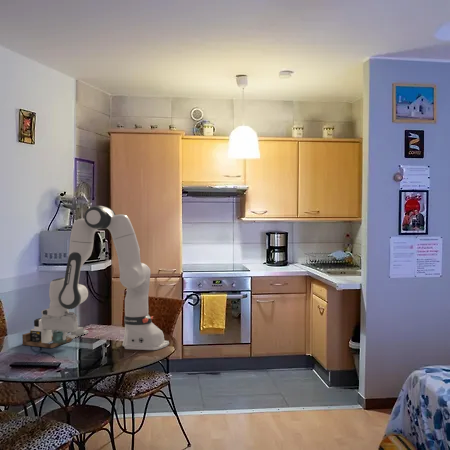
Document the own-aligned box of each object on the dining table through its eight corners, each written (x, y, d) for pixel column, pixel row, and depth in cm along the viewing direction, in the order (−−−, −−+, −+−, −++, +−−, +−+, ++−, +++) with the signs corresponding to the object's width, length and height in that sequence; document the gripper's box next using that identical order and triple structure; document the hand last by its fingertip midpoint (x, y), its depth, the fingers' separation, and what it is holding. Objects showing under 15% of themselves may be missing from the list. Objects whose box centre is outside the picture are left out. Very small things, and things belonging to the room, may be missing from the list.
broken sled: (88, 333, 252) (88, 325, 252) (70, 339, 239) (70, 331, 239) (60, 330, 259) (60, 323, 259) (42, 336, 247) (41, 328, 247)
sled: (71, 341, 236) (71, 329, 236) (51, 348, 224) (51, 335, 224) (43, 338, 243) (43, 326, 243) (22, 344, 231) (22, 332, 231)
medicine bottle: (30, 344, 233) (29, 319, 233) (41, 340, 239) (40, 316, 239) (41, 345, 230) (40, 320, 230) (52, 341, 237) (51, 317, 236)
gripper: (80, 311, 229) (81, 339, 229) (48, 308, 237) (48, 336, 237) (71, 313, 223) (72, 342, 223) (38, 311, 231) (39, 339, 232)
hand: (59, 339), depth 230 cm, fingers open, 3 cm apart
